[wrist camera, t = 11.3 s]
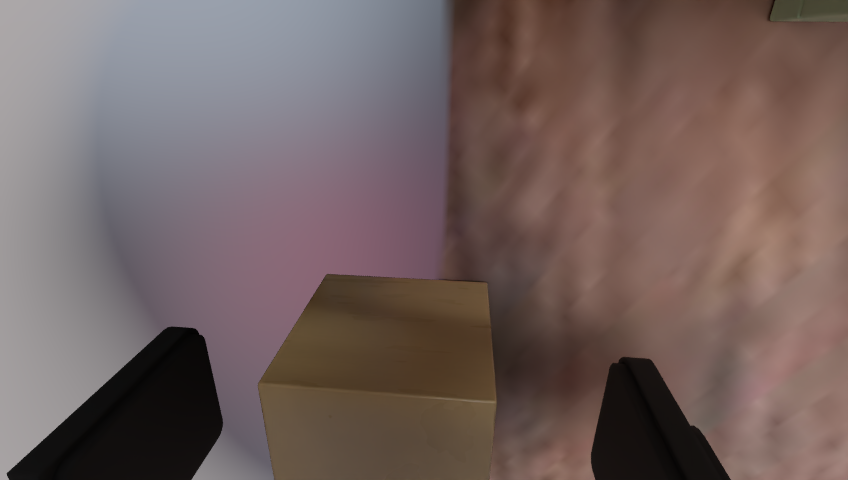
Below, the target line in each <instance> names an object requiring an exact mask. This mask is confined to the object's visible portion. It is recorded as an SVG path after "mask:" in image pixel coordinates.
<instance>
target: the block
mask: <svg viewBox="0 0 848 480" xmlns="http://www.w3.org/2000/svg"><path fill="white" fill-rule="evenodd" d="M258 390H259V395H260V401H261V406H262V412H263V418H264V423H265V429H266V435H267V441H268V446H269V451H270V458H271V463H272V469H273V474H274V480H489V479H490V469H491V458H492V448H493V438H494V428H495V418H496V408H497V395H496V383H495V371H494V359H493V346H492V334H491V322H490V309H489V297H488V285H487V283H485V282H466V281H447V280H428V279H408V278H389V277H371V276H354V275H335V274H327V275H326V276H325V278H324V279H323V281H322V282H321V284H320V286H319V287H318V289H317V290H316V292H315V294H314V295H313V297H312V298H311V300H310V302H309V303H308V305H307V306H306V308H305V309H304V311H303V313H302V314H301V316H300V317H299V319H298V321H297V322H296V324H295V326H294V327H293V329H292V330H291V332H290V333H289V335H288V337H287V338H286V340H285V341H284V343H283V345H282V346H281V348H280V349H279V351H278V353H277V354H276V356H275V357H274V359H273V361H272V362H271V364H270V365H269V367H268V369H267V370H266V372H265V373H264V375H263V377H262V378H261V380H260V381H259V383H258Z"/></svg>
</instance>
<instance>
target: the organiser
mask: <svg viewBox="0 0 848 480" xmlns="http://www.w3.org/2000/svg"><path fill="white" fill-rule="evenodd" d="M770 20H771V21H781V22H848V0H775V2H774V6H773V9H772V13H771V16H770Z"/></svg>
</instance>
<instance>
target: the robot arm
mask: <svg viewBox="0 0 848 480" xmlns="http://www.w3.org/2000/svg"><path fill="white" fill-rule="evenodd" d="M222 427H223V419H222V415H221V410H220V406H219V401H218V397H217V393H216V387H215V383H214V378H213V374H212V369H211V365H210V360H209V356H208V351H207V347H206V342H205V339H204V337H203V336H202V335H199V333H198V331H197V330H196V329H194V328H183V327H168V328H166V329H165V330H163V331H162V332H161V333H160V334H159V335H158V336H157V337H156V338H155V339H154V340H152V341H151V342H150V343H149V344H148V345H147V346H146V347H145V348H144V349H143V350H141V352H139V353H138V354H137V355H136V356H135V357H134V358H133V359H132V360H131V361H129V362H128V363H127V364H126V365H125V366H124V367H123V368H122V369H121V370H120V371H118V372H117V373H116V374H115V375H114V376H113V377H112V378H111V379H110V380H109V381H108V382H106V383H105V384H104V385H103V386H102V387H101V388H100V389H99V390H98V391H97V392H95V393H94V394H93V395H92V396H91V397H90V398H89V399H88V400H87V401H86V402H84V403H83V404H82V405H81V406H80V407H79V408H78V409H77V410H76V411H75V412H74V413H72V414H71V415H70V416H69V417H68V418H67V419H66V420H65V421H64V422H63V423H61V424H60V425H59V426H58V427H57V428H56V429H55V430H54V431H53V432H52V433H51V434H49V436H47V437H46V438H45V439H44V440H43V441H42V442H41V443H40V444H38V445H37V446H36V447H35V448H34V449H33V450H32V451H31V452H30V453H29V454H28V455H26V456H25V457H24V458H23V459H22V460H21V461H20V462H19V463H18V464H17V465H15V466H14V467H13V468H12V469H11V470H10V471H9V472H8V473H7V476H8V478H9V480H191V479H192V478H193V476H194V475H195V473H196V471H197V470H198V469H199V467H200V466H201V464H202V462H203V461H204V459H205V458H206V456H207V455H208V453H209V452H210V450H211V449H212V447H213V446H214V444H215V442H216V441H217V439H218V438H219V436H220V434H221V431H222ZM591 464H592V470H593V473H594V477H595V480H731V479H730V478H729V476H728V474H727V473H726V471H725V469H724V468H723V466H722V464H721V463H720V461H719V460H718V458H717V456H716V455H715V453H714V451H713V450H712V448H711V446H710V445H709V443H708V441H707V440H706V438H705V436H704V435H703V434H702V433H701V431H700V430H699V429H698V428H696V427H695V426H690V424H689V423H688V421H687V419H686V418H685V416H684V414H683V412H682V411H681V409H680V407H679V406H678V404H677V402H676V401H675V399H674V397H673V395H672V394H671V392H670V390H669V389H668V387H667V385H666V384H665V382H664V380H663V378H662V377H661V375H660V373H659V372H658V370H657V368H656V366H655V365H654V363H653V362H652V361H651V360H650V359H645V358H630V357H622V358H621V359H620V360H619V362H618V363H612V364H611V366H610V369H609V374H608V378H607V383H606V387H605V392H604V397H603V401H602V406H601V410H600V415H599V419H598V424H597V429H596V433H595V438H594V442H593V447H592V452H591Z"/></svg>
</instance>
